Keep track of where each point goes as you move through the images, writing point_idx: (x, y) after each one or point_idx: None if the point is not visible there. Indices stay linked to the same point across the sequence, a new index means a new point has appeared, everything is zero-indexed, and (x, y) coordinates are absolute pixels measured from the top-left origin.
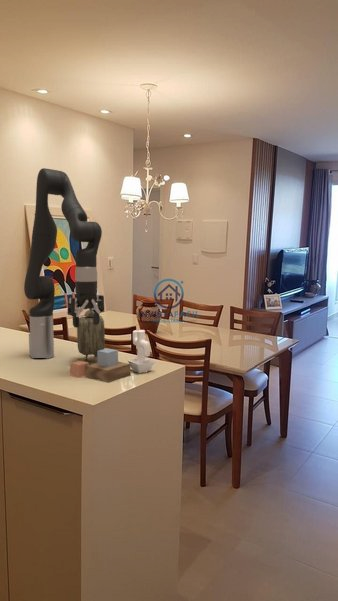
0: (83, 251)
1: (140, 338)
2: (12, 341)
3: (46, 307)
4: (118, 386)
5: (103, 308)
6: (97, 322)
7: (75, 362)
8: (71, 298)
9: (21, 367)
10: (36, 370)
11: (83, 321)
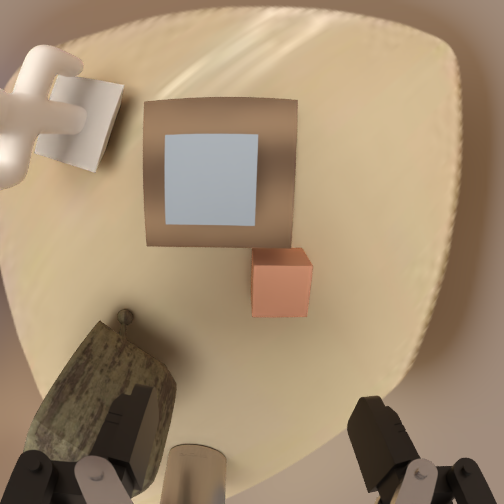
0: None
1: (16, 97)
2: None
3: None
4: (305, 51)
5: (22, 477)
6: (145, 397)
7: (286, 309)
8: None
9: (301, 433)
10: (306, 398)
11: None
